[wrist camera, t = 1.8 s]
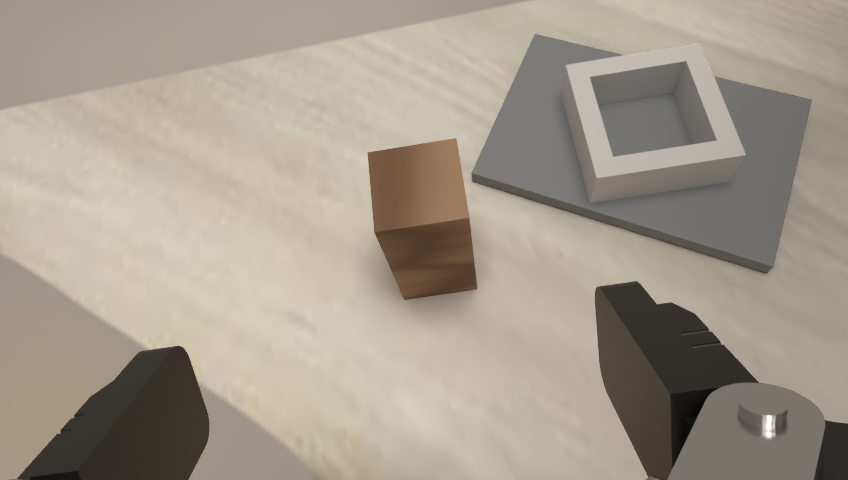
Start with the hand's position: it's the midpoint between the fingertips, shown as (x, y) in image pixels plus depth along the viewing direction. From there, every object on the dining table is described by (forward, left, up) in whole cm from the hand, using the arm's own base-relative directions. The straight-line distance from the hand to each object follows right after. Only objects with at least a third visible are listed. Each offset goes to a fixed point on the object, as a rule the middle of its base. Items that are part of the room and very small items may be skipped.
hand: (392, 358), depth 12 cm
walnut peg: (+6, -10, -23) cm, 26 cm away
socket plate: (-3, -22, -23) cm, 32 cm away
